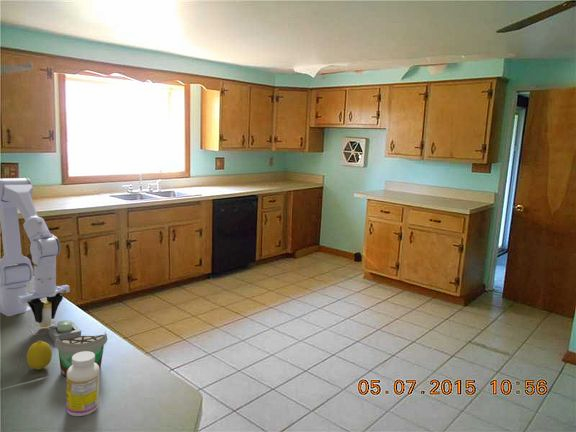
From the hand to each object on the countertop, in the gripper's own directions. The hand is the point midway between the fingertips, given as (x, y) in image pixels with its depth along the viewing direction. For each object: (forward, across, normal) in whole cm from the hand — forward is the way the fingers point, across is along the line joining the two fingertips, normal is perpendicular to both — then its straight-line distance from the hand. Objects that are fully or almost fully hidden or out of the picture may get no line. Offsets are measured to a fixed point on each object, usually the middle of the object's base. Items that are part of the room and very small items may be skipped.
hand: (45, 319), depth 132 cm
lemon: (+3, -14, -20) cm, 25 cm away
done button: (+1, +1, -9) cm, 9 cm away
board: (+3, 0, -3) cm, 5 cm away
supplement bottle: (+4, -16, -42) cm, 45 cm away
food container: (+4, -8, -30) cm, 32 cm away
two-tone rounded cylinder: (+2, 0, 0) cm, 2 cm away
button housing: (+3, +1, -9) cm, 9 cm away
